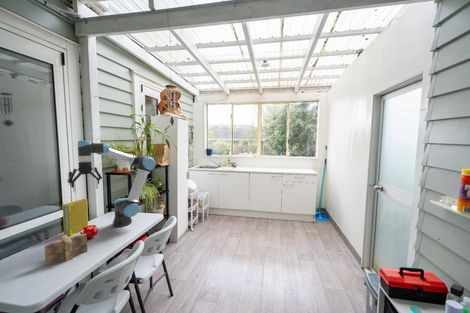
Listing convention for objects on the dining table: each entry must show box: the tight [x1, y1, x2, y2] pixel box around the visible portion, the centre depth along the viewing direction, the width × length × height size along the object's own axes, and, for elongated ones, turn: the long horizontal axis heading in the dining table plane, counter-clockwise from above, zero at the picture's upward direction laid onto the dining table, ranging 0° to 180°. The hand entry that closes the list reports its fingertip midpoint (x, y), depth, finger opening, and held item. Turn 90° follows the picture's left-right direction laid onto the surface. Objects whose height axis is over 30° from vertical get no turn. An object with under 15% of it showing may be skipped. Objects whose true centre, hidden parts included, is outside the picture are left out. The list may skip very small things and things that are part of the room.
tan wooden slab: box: [59, 234, 74, 262], centre depth 126 cm, size 3×14×12 cm, turn 52°
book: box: [61, 198, 89, 237], centre depth 161 cm, size 17×7×25 cm, turn 168°
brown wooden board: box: [44, 232, 88, 266], centre depth 124 cm, size 20×3×12 cm, turn 142°
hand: (86, 190), depth 143 cm, fingers open, 13 cm apart
